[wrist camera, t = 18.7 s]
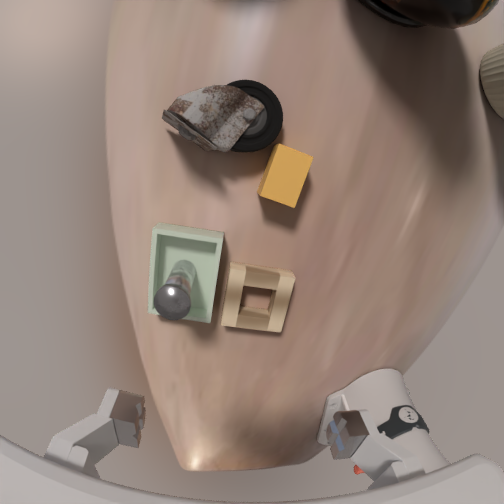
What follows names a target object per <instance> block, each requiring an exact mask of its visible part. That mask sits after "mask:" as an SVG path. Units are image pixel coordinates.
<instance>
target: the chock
mask: <svg viewBox="0 0 504 504" xmlns="http://www.w3.org/2000/svg"><path fill="white" fill-rule="evenodd" d="M312 160H313V157H312V156H310V155H307V154H305V153H302V152H300V151H297V150H295V149H292V148H289V147H287V146H284V145H282V144H276V145H274V147H273V149H272V152H271V155H270V158H269V160H268V163H267V166H266V169H265V171H264V174H263V177H262V180H261V182H260V185H259V188H258V191H257V192H258V194H259V195H260V196H262V197H265V198H268V199H271V200H274V201H276V202H279V203H282V204H285V205H288V206H290V207H293V208H295V205H296V203H297V200H298V197H299V195H300V192H301V189H302V187H303V184H304V181H305V179H306V176H307V173H308V171H309V168H310V165H311V163H312Z"/></svg>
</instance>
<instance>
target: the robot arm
mask: <svg viewBox="0 0 504 504" xmlns="http://www.w3.org/2000/svg"><path fill="white" fill-rule="evenodd" d="M409 395H410V392H409V390H408V389H407V387H406V386H405V383H404V379H403V376H402V374H401V373H400V372H398V371H397V370H394V369H380V370H376V371H373V372H370V373H368V374H365V375H363V376H362V377H360V378H358V379H356V380H355V381H354V382H352V383H351V384H350V385H348V386H347V387H346V388H344V389H342V390H340V391H337V392H335V393H333V394H331V395H329V396H328V397H327V399H326V403H325V408H324V412H323V416H322V420H321V424H320V428H319V432H318V436H317V441H318V443H320V444H323V445H329V446H331V448H330V450H331V452H332V455H333V459H345V458H350V459H351V460H352V461H353V462H354V463H355V464H356V465H355V466H354V472H355V474H360V473H366V474H367V475H368V476H369V477H370V478H371V479H372V480H373V481H374V482H373V483H372V485H370V486H369V488H368V489H367V490H366V491H361V492H356V493H352V494H345V495H339V496H334V497H327V498H318V499H309V500H298V501H283V502H226V501H212V500H201V499H192V498H184V497H177V496H170V495H165V494H159V493H154V492H148V491H144V490H139V489H135V488H131V487H127V486H123V485H119V484H116V483H112V482H109V481H105V480H102V479H100V476H99V474H98V472H97V470H96V468H95V466H94V465H95V464H96V463H97V462H99V461H100V460H101V459H102V458H104V457H105V456H106V455H107V454H108V453H110V452H111V451H112V450H113V449H114V448H116V447H117V446H118V445H119V444H122V445H126V446H131V447H136V448H139V444H140V440H141V430H142V429H143V428H144V423H145V414H146V413H145V412H146V410H145V407H144V403H145V399H144V396H142V395H138V394H134V393H130V392H126V391H122V390H119V389H115V388H111V387H109V388H108V389H107V391H106V393H105V396H104V398H103V401H102V403H101V405H100V407H99V410H98V412H97V414H94V413H93V414H91V415H90V416H88V417H86V418H85V419H83V420H81V421H79V422H78V423H76V424H74V425H72V426H71V427H69V428H67V429H65V430H63V431H61V432H60V433H58V434H56V435H54V436H53V438H52V441H51V443H50V445H49V447H48V449H47V451H46V453H45V455H44V457H41V456H39V455H37V454H35V453H33V452H31V451H29V450H27V449H25V448H23V447H21V446H19V445H17V444H15V443H13V442H11V441H10V440H8V439H6V438H5V437H3V436H1V435H0V504H504V471H502V470H501V468H500V467H499V465H498V464H497V463H496V462H494V461H492V460H491V459H489V458H487V457H485V456H483V455H480V454H473V455H470V456H468V457H466V458H464V459H462V460H459V461H457V462H454V463H452V464H451V463H449V461H447V460H446V458H445V457H444V456H443V454H442V453H441V452H440V450H439V449H438V448H437V446H436V445H435V443H434V442H433V440H432V439H431V437H430V435H429V429H428V427H427V425H426V423H425V422H424V420H423V418H422V417H421V415H420V414H419V413H418V412H417V411H416V409H415V406H414V404H413V402H412V400H411V398H410V396H409Z"/></svg>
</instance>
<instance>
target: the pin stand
mask: <svg viewBox="0 0 504 504" xmlns="http://www.w3.org/2000/svg"><path fill="white" fill-rule="evenodd" d="M294 281H295V276H294V275H293V273H292V271H291V270H284V269H278V268H271V267H264V266H257V265H251V264H244V263H238V262H231V261H230V267H229V273H228V279H227V285H226V291H225V297H224V303H223V309H222V315H221V325H223V326H230V327H238V328H246V329H254V330H263V331H273V332H281V330H282V326H283V323H284V319H285V315H286V312H287V308H288V304H289V300H290V297H291V293H292V289H293V285H294ZM243 285H244V286H251V287H259V288H266V289H273V290H272V294H271V298H270V302H269V307H268V309H260V308H252V307H244V306H240V301H241V295H242V290H243Z"/></svg>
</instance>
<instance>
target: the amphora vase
mask: <svg viewBox="0 0 504 504" xmlns="http://www.w3.org/2000/svg"><path fill="white" fill-rule="evenodd" d="M359 1H360V2H361V3H363V4H364V5H365V6H366V7H367V8H368V9H370V10H371V11H373V12H374V13H376V14H377V15H379V16H380V17H382V18H384V19H386V20H388V21H390V22H392V23H395V24H398V25H401V26H404V27H413V28H417V27H422V26H426V25H429V26H435V27H441V28H453V29H454V28H459V27H464V26H468V25H471V24H474V23H477V22H478V21H479V20H481V19H482V18H484V17H485V16H486V15H487V14H488V13H489V12H490V11H491V10H492V9H493V8H494V7H495V6H496V5H497V4H498V2H499V0H359Z"/></svg>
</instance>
